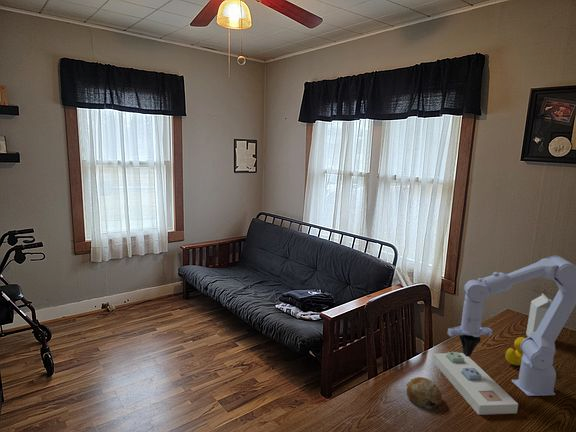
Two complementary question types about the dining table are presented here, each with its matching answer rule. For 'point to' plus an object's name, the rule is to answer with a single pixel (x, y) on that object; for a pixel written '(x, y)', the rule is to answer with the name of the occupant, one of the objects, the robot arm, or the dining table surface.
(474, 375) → the button three
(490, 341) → the dining table surface
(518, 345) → the duckling
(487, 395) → the button one
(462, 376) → the button panel
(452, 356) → the button two
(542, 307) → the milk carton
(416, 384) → the bread roll
